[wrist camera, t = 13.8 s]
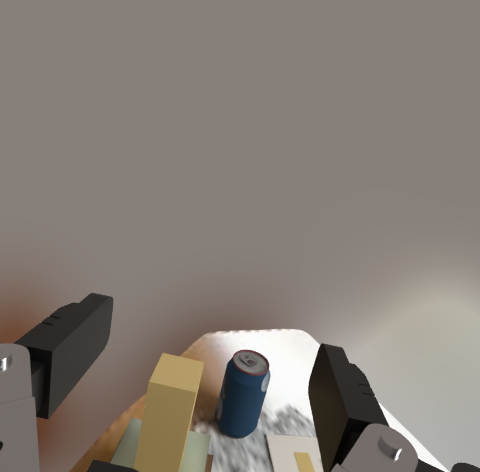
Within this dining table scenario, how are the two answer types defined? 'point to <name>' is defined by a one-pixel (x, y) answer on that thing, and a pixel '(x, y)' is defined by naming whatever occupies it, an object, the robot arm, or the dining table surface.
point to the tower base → (194, 459)
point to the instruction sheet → (294, 453)
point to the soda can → (242, 393)
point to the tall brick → (168, 414)
